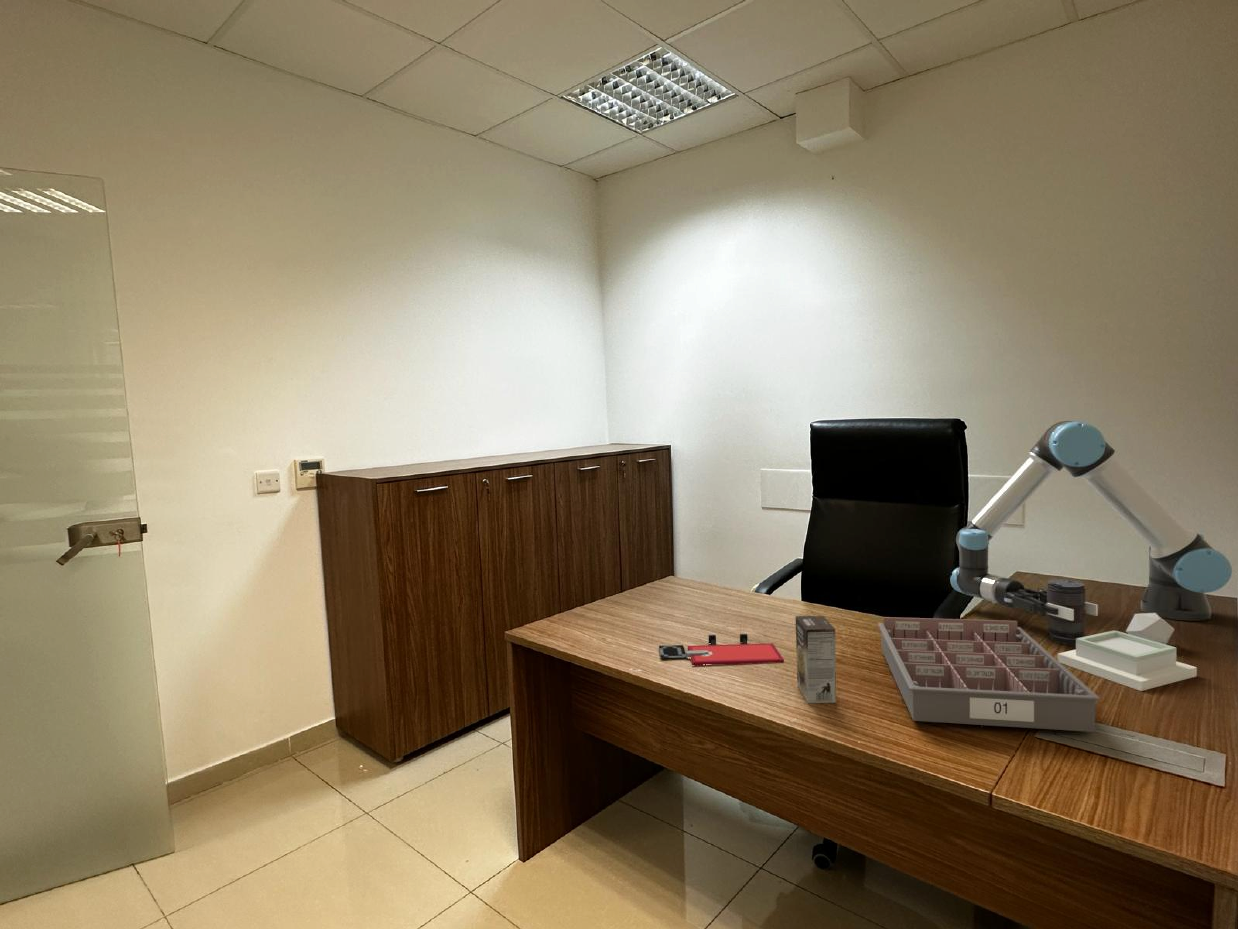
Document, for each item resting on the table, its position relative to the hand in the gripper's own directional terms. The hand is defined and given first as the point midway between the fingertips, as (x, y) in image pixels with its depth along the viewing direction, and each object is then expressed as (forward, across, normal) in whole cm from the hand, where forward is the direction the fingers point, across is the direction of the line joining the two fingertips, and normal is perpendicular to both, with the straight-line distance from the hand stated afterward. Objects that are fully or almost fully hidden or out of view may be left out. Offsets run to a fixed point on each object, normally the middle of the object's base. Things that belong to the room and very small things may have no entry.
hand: (1084, 612), depth 161 cm
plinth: (+13, +6, -8) cm, 17 cm away
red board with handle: (-35, +83, -9) cm, 91 cm away
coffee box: (-5, +76, -9) cm, 77 cm away
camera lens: (-5, 0, -9) cm, 10 cm away
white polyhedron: (+6, -14, -9) cm, 18 cm away
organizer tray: (+7, +45, -9) cm, 46 cm away
